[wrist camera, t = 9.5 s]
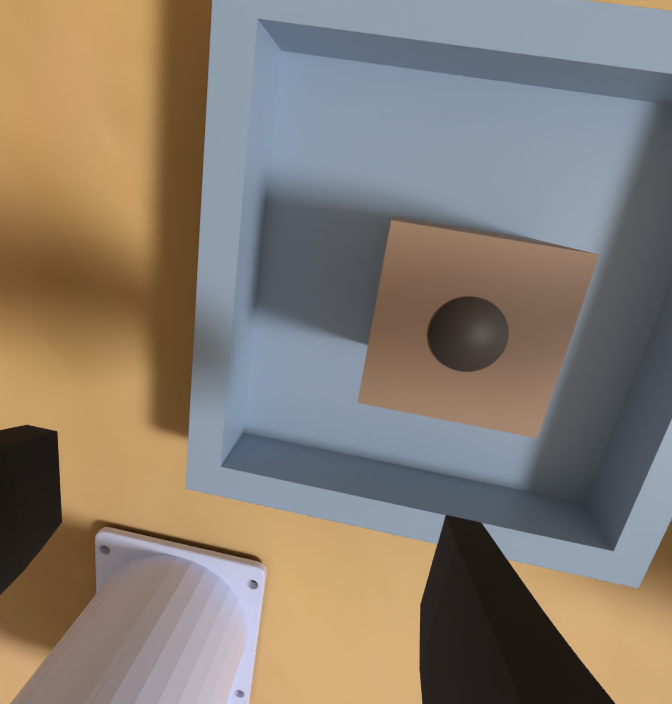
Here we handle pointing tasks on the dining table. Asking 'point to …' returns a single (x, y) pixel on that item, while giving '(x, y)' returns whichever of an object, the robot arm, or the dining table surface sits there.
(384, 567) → the dining table surface
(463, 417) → the walnut block
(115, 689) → the robot arm
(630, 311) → the tray
